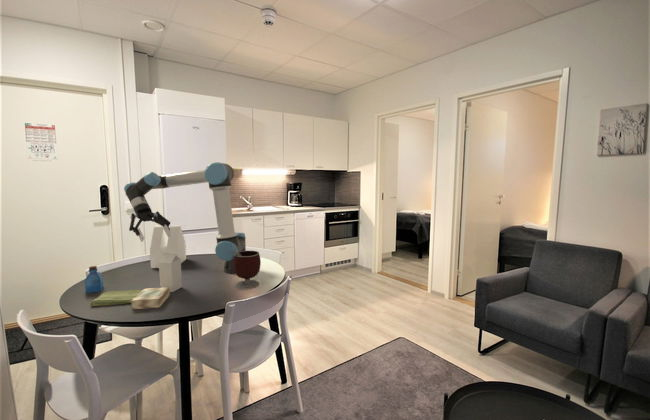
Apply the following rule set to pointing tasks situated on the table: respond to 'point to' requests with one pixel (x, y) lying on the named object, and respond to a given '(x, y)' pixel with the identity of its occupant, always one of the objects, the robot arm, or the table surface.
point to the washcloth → (115, 298)
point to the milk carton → (170, 272)
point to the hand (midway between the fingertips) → (156, 237)
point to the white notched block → (167, 244)
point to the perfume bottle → (93, 280)
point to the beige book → (150, 298)
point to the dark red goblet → (246, 268)
